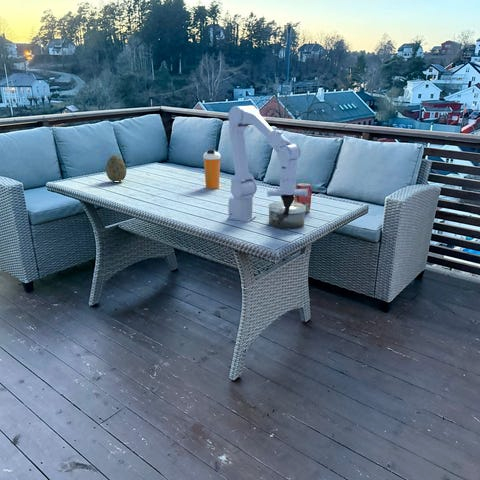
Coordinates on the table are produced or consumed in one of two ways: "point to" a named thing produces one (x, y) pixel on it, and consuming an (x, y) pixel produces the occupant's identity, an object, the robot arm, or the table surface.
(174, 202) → the table surface
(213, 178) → the shaker bottle
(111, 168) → the decorative egg
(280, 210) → the lid
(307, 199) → the soda can
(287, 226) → the cooker pot
